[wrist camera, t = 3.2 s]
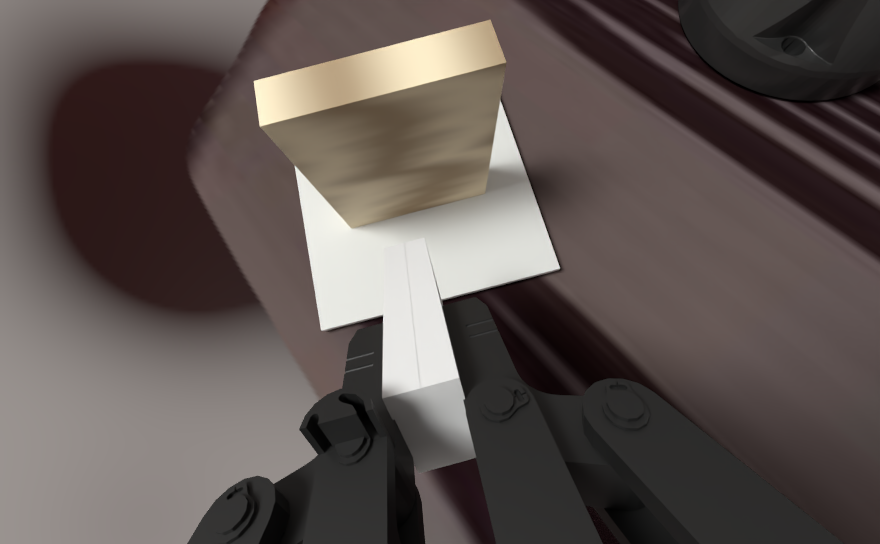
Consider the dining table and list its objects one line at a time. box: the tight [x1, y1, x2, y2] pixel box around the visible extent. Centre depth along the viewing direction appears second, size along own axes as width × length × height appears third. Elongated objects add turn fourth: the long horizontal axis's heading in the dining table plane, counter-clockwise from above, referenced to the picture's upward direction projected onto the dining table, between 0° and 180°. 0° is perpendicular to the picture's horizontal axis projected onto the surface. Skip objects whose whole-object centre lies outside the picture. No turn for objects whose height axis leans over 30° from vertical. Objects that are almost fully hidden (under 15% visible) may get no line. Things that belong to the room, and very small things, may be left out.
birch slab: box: [254, 20, 506, 228], centre depth 17 cm, size 9×2×10 cm, turn 104°
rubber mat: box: [295, 100, 560, 331], centre depth 22 cm, size 15×18×1 cm
